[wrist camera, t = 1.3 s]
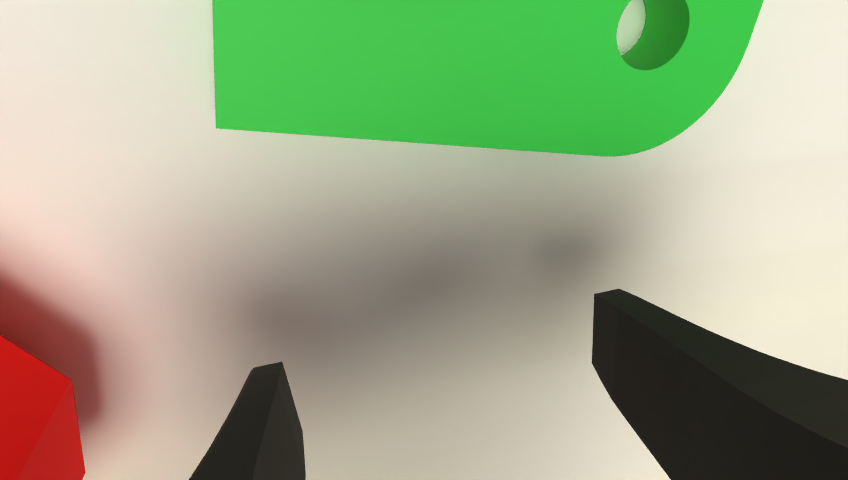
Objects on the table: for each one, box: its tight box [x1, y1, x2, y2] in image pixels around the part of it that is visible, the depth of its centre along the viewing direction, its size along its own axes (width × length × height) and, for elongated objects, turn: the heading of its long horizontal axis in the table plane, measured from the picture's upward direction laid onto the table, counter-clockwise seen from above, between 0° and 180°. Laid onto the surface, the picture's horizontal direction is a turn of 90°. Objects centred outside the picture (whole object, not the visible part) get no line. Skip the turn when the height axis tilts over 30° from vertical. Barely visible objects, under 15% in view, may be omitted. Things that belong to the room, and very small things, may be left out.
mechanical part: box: [213, 0, 763, 156], centre depth 10 cm, size 12×6×8 cm, turn 83°
